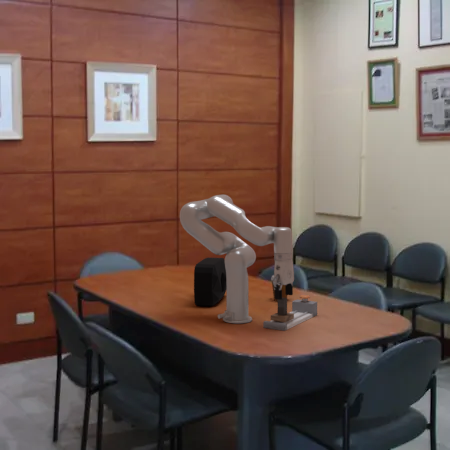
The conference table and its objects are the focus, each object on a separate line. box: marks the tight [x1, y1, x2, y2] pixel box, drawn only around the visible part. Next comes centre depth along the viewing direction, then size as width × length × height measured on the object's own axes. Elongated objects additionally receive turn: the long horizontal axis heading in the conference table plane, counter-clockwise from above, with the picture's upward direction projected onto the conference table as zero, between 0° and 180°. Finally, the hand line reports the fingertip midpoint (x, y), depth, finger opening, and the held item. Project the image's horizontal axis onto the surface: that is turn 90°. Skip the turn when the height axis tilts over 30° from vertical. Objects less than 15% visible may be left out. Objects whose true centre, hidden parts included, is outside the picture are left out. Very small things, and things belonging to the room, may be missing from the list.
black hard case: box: [193, 257, 227, 307], centre depth 347 cm, size 30×12×20 cm, turn 168°
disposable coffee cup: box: [270, 274, 288, 302], centre depth 349 cm, size 10×10×12 cm
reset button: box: [299, 294, 311, 302], centre depth 319 cm, size 4×4×2 cm
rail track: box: [262, 298, 318, 332], centre depth 308 cm, size 32×10×6 cm, turn 148°
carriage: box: [270, 297, 294, 322], centre depth 301 cm, size 8×7×9 cm
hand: (283, 297), depth 300 cm, fingers open, 9 cm apart
